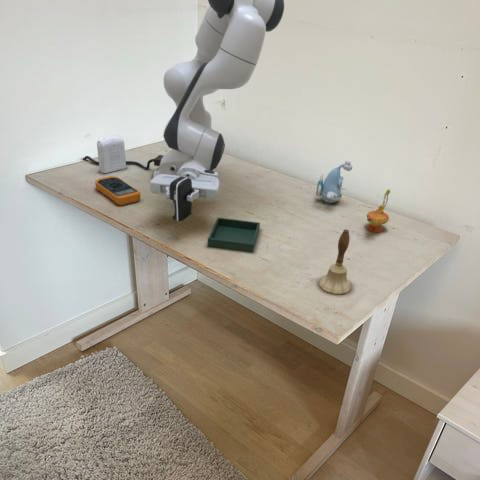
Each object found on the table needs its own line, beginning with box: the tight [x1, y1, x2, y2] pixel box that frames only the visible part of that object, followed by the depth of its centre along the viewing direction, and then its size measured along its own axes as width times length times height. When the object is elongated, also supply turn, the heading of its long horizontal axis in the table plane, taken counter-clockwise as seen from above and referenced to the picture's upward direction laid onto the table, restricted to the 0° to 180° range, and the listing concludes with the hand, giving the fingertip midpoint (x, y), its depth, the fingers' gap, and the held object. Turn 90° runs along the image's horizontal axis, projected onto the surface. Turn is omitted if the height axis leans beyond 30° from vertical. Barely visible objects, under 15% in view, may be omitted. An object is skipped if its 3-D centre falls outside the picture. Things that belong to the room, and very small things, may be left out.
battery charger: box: [169, 177, 193, 223], centre depth 140 cm, size 7×4×11 cm, turn 153°
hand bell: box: [318, 229, 352, 295], centre depth 125 cm, size 8×8×16 cm
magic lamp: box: [366, 188, 391, 233], centre depth 154 cm, size 7×18×11 cm, turn 149°
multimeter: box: [94, 175, 142, 206], centre depth 167 cm, size 9×18×3 cm, turn 40°
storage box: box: [207, 217, 261, 253], centre depth 147 cm, size 13×14×3 cm
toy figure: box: [315, 160, 353, 204], centre depth 168 cm, size 17×10×15 cm, turn 168°
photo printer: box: [96, 135, 127, 174], centre depth 181 cm, size 10×4×12 cm, turn 134°
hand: (179, 198), depth 139 cm, fingers closed on battery charger, 4 cm apart
